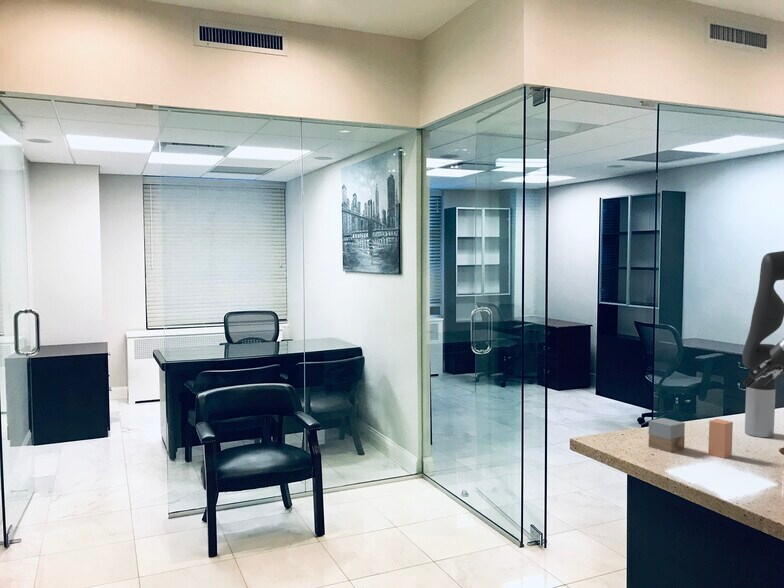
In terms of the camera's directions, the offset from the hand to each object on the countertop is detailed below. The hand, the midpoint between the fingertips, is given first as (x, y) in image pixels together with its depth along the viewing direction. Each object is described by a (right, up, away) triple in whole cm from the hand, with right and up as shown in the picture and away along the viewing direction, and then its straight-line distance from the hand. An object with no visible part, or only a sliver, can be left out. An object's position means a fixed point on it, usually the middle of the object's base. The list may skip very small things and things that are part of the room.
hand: (752, 384), depth 193 cm
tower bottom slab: (-19, -24, +17) cm, 35 cm away
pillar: (-5, -24, +10) cm, 26 cm away
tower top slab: (-19, -19, +17) cm, 32 cm away
